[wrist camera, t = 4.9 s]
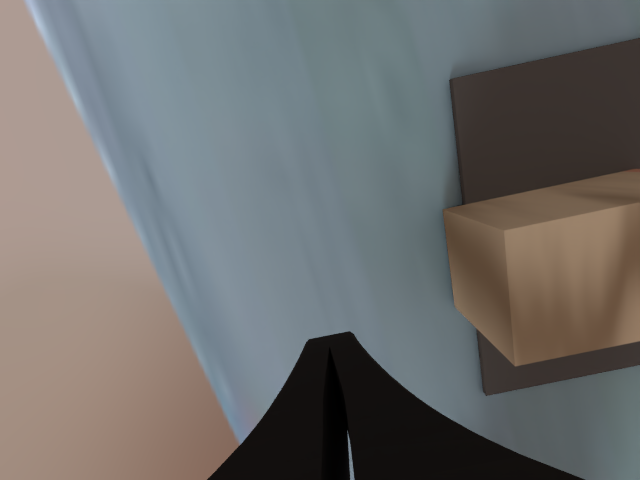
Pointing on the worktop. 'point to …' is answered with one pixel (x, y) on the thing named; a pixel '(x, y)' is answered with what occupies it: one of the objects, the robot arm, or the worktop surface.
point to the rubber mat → (548, 160)
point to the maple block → (550, 267)
